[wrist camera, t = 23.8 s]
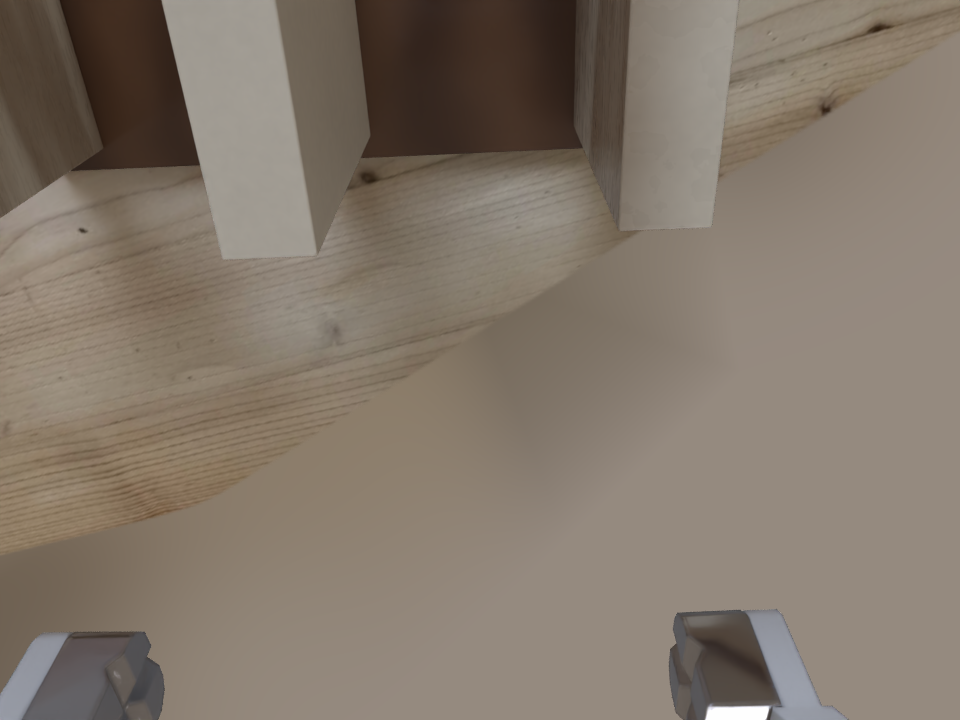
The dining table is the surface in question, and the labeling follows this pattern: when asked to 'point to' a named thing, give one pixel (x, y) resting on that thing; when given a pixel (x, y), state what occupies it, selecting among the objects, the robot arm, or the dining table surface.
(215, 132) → the white book
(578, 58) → the wooden book rack
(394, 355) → the dining table surface
